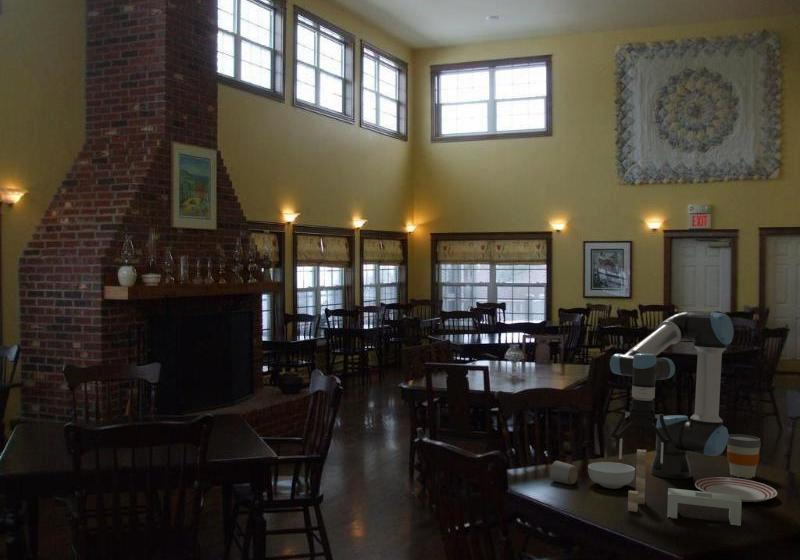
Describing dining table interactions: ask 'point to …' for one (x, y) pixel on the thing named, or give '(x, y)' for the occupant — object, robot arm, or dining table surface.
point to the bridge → (705, 502)
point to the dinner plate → (737, 488)
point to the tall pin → (641, 475)
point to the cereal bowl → (611, 474)
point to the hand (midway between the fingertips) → (640, 460)
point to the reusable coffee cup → (743, 455)
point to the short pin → (633, 501)
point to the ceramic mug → (563, 473)
